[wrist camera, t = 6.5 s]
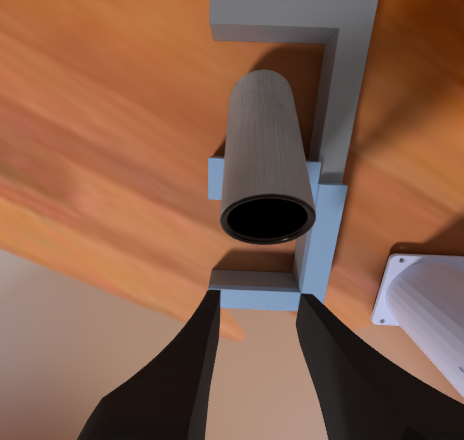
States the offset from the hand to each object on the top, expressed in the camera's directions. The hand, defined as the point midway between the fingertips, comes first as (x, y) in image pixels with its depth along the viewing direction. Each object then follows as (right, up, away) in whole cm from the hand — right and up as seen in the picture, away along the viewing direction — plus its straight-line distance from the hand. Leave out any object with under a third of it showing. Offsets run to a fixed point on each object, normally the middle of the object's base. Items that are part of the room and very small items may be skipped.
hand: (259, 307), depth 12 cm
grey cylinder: (+1, +13, +4) cm, 14 cm away
